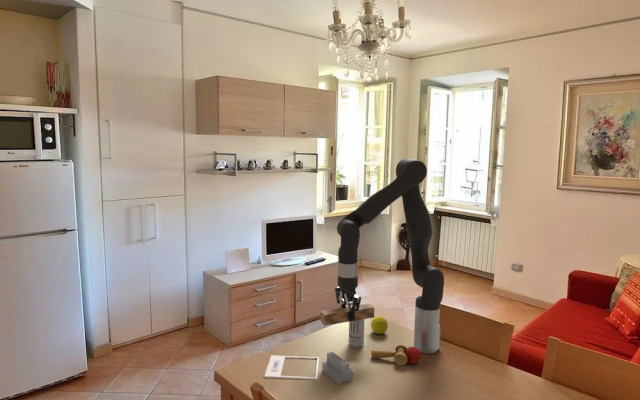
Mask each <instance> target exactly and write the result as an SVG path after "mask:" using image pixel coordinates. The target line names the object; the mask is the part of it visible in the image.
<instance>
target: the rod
mask: <svg viewBox="0 0 640 400" xmlns="http://www.w3.org/2000/svg"><path fill="white" fill-rule="evenodd" d="M351 308H352V305H351ZM348 318H349V309H348V306H347V307H344V308H341V307H339V308H331V309H324V310H320V323H321V324H322V325H323V326H324V327H325V326H331V325H336V324H342V323H349V322H350V321H349V320H348ZM374 318H375V307H374V306H373V305H372V304H370V303H365V304H360V307H359V311H355V319H354V321H356V320H362V319H364V320H367V319H374Z"/></svg>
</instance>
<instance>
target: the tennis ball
mask: <svg viewBox="0 0 640 400" xmlns="http://www.w3.org/2000/svg"><path fill="white" fill-rule="evenodd" d="M388 326H389V323H388V321H387V319H386V318H385V317H383V316H376V317H375V316H374V318H372V321H371V322H370V327H371V330H372V332H373V333H375V334H378V335H383V334H385V333H386V332H387V330H388V328H389V327H388Z"/></svg>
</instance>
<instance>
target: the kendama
mask: <svg viewBox="0 0 640 400" xmlns="http://www.w3.org/2000/svg"><path fill="white" fill-rule="evenodd" d="M370 356H371V359H386V358H393V360H394V363H395V364H396V365H398V366H402V367H403V366H405V365H407V363H409V364H412V365H415V364H418V363H419V362H420V361H421V360H422V359H421V358H422V353H421V352H420V350H419V349H418V348H416V347H414V346H409V347H407V346H406V345H404V344H398V345H396V346H395V351H391V350H390V351H389V350H376V349H375V350H374V349H371V355H370Z"/></svg>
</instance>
